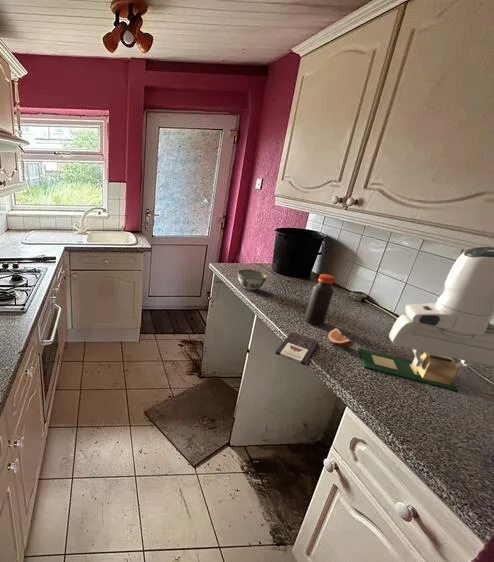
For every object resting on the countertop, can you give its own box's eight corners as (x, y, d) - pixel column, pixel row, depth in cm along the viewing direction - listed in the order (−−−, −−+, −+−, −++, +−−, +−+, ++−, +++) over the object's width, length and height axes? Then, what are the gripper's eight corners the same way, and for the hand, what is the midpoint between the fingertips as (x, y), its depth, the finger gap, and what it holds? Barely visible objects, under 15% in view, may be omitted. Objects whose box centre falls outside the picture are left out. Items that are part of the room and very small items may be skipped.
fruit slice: (355, 353, 106) (359, 340, 105) (335, 351, 107) (339, 339, 105) (341, 340, 114) (345, 328, 112) (322, 338, 115) (326, 326, 113)
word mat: (441, 369, 99) (442, 367, 99) (457, 392, 90) (458, 390, 89) (358, 349, 109) (358, 347, 109) (364, 367, 99) (365, 365, 99)
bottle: (326, 323, 126) (340, 277, 119) (318, 327, 122) (333, 280, 115) (308, 316, 131) (321, 272, 124) (301, 320, 127) (313, 275, 120)
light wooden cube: (441, 373, 76) (450, 355, 75) (450, 385, 72) (459, 366, 70) (415, 367, 79) (423, 349, 77) (422, 378, 74) (430, 359, 72)
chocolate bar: (318, 341, 111) (305, 362, 98) (317, 343, 111) (305, 365, 99) (291, 331, 116) (275, 351, 104) (290, 333, 117) (275, 353, 104)
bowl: (259, 284, 164) (262, 270, 161) (267, 294, 152) (271, 279, 149) (232, 282, 165) (235, 268, 162) (239, 292, 153) (242, 277, 150)
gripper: (516, 323, 68) (487, 375, 73) (398, 303, 77) (379, 351, 82) (535, 337, 63) (503, 391, 68) (406, 313, 71) (386, 363, 76)
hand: (434, 369), depth 75 cm, fingers closed on light wooden cube, 5 cm apart
